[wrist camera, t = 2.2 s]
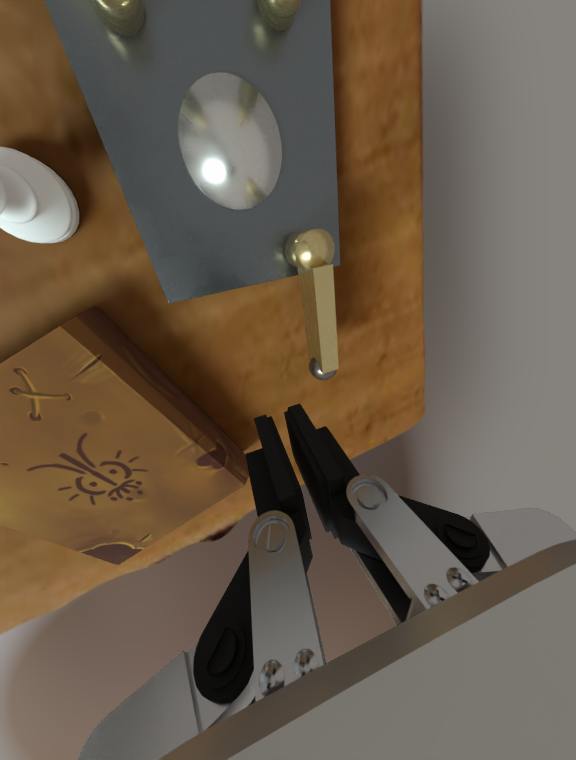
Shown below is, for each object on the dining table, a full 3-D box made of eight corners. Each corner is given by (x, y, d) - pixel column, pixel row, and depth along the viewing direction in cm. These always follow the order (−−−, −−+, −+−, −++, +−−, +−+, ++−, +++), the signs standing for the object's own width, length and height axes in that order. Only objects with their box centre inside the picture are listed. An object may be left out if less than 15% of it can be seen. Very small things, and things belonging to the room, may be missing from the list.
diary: (243, 447, 34) (250, 481, 29) (129, 519, 34) (118, 565, 29) (98, 302, 21) (68, 320, 16) (-85, 418, 21) (-170, 470, 16)
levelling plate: (24, -67, 12) (-64, -223, 8) (312, -56, 15) (354, -168, 11) (171, 299, 22) (163, 311, 18) (331, 264, 25) (357, 267, 21)
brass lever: (281, 234, 20) (301, 231, 16) (312, 228, 21) (338, 224, 17) (301, 369, 27) (318, 390, 23) (324, 362, 28) (344, 382, 24)
